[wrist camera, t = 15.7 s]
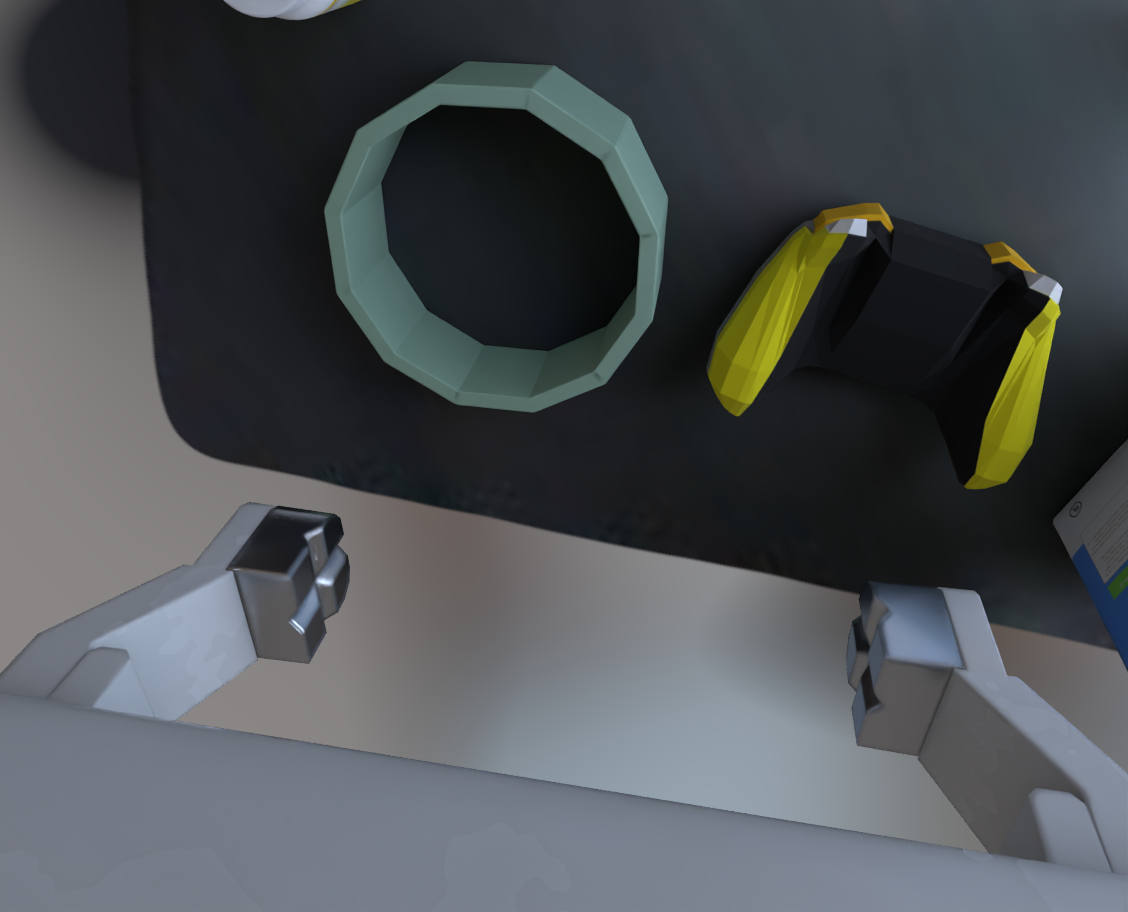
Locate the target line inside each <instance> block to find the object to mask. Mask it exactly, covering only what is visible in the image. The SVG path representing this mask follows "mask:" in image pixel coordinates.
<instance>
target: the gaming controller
mask: <svg viewBox="0 0 1128 912" xmlns="http://www.w3.org/2000/svg"><path fill="white" fill-rule="evenodd" d="M1062 289H1063V288H1062V287H1061V286H1060V285H1059V283H1058V282H1056V281H1054V280H1053V279H1051V278H1049V277H1047V276H1045V275H1042V274H1038V273H1037V272H1036V271H1035V270H1034V269H1033V268H1032V267H1031V266H1029V265H1028V264H1027V263H1026V262H1025V261H1024V260H1023V259H1022V258H1021V257H1020V256H1019V255H1018V254H1017V253H1016V252H1015V251H1014V250H1013V249H1012V248H1010V247H1009V246H1007V245H1006V244H1004V243H1003V242H997V243H992V244H987V245H981V244H978V243H975V242H972V241H968V240H965V239H962V238H959V237H956V236H952V235H949V234H946V233H943V232H940V231H936V230H933V229H930V228H927V227H924V226H920V225H917V224H914V223H911V222H908V221H904V220H901V219H898V218H895V217H892V216H889V215H887V213H886V212H885V211H884V209H883V208H882V207H881V206H880V204H879V203H862V204H856V205H850V206H845V207H839V208H833V209H827V210H823V211H822V212H821V213H820V214H819V215H818V216H817V217H815V218H814V219H812V220H811V221H804V222H803V223H802V224H800V225H799V226H798V227H797V228H795V229H794V230H793V231H792V232H791V233H790V234H789V235H788V236H787V237H786V238H785V239H784V241H783V242H782V243H781V244H780V245H779V246H778V247H777V249H776V250H775V251H774V252H773V253H772V254H771V255H770V257H769V258H768V259H767V260H766V261H765V262H764V263H763V265H762V266H761V267H760V268H759V269H758V270H757V272H756V273H755V275H754V276H753V278H752V279H751V281H750V282H749V284H748V285H747V287H746V288H745V290H744V291H743V293H742V294H741V296H740V297H739V299H738V300H737V302H736V303H735V305H734V306H733V308H732V309H731V311H730V312H729V314H728V315H727V317H726V318H725V320H724V321H723V323H722V324H721V326H720V327H719V329H718V330H717V333H716V337H715V340H714V343H713V347H712V350H711V353H710V357H709V360H708V363H707V367H706V370H707V373H708V377H709V380H710V382H711V384H712V387H713V389H714V391H715V394H716V396H717V397H718V399H719V400H720V402H721V403H722V405H723V406H724V407H725V408H726V409H727V410H728V411H729V412H730V413H732V414H733V415H735V416H740V415H741V414H742V413H744V412H745V411H746V410H748V409H749V408H750V407H752V406H753V405H754V404H755V403H757V402H758V401H759V400H761V399H762V398H763V397H765V396H766V395H767V394H769V393H770V392H771V391H772V390H773V389H774V388H775V387H776V386H777V385H778V384H779V383H780V382H781V381H782V380H783V379H784V378H785V377H786V376H787V375H788V374H789V373H790V372H791V371H792V370H794V369H798V368H801V367H804V366H815V367H823V368H826V369H829V370H832V371H835V372H838V373H842V374H845V375H848V376H851V377H854V378H858V379H861V380H864V381H867V382H870V383H874V384H877V385H880V386H883V387H886V388H890V389H893V390H896V391H899V392H902V393H906V394H909V395H911V396H913V397H915V398H917V399H919V400H921V401H923V402H924V403H925V404H926V405H927V406H928V408H929V409H930V410H931V411H932V412H933V414H934V417H935V419H936V422H937V424H938V427H939V429H940V432H941V434H942V437H943V440H944V443H945V446H946V449H947V452H948V455H949V458H950V461H951V464H952V466H953V469H954V472H955V475H956V477H957V479H958V481H959V482H960V483H961V484H962V485H963V486H964V487H966V488H967V489H985V488H989V487H992V486H995V485H999V484H1002V483H1006V482H1007V481H1008V479H1009V478H1010V477H1011V476H1012V474H1013V473H1014V471H1015V470H1016V468H1017V466H1018V465H1019V463H1020V462H1021V460H1022V459H1023V457H1024V456H1025V454H1026V452H1027V451H1028V449H1029V448H1030V446H1031V445H1032V442H1033V437H1034V431H1035V426H1036V421H1037V415H1038V410H1039V405H1040V399H1041V394H1042V389H1043V383H1044V378H1045V373H1046V368H1047V363H1048V358H1049V353H1050V348H1051V343H1052V338H1053V333H1054V329H1055V323H1056V319H1057V318H1058V317H1059V315H1060V309H1059V306H1058V303H1059V300H1060V296H1061V293H1062Z"/></svg>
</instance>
